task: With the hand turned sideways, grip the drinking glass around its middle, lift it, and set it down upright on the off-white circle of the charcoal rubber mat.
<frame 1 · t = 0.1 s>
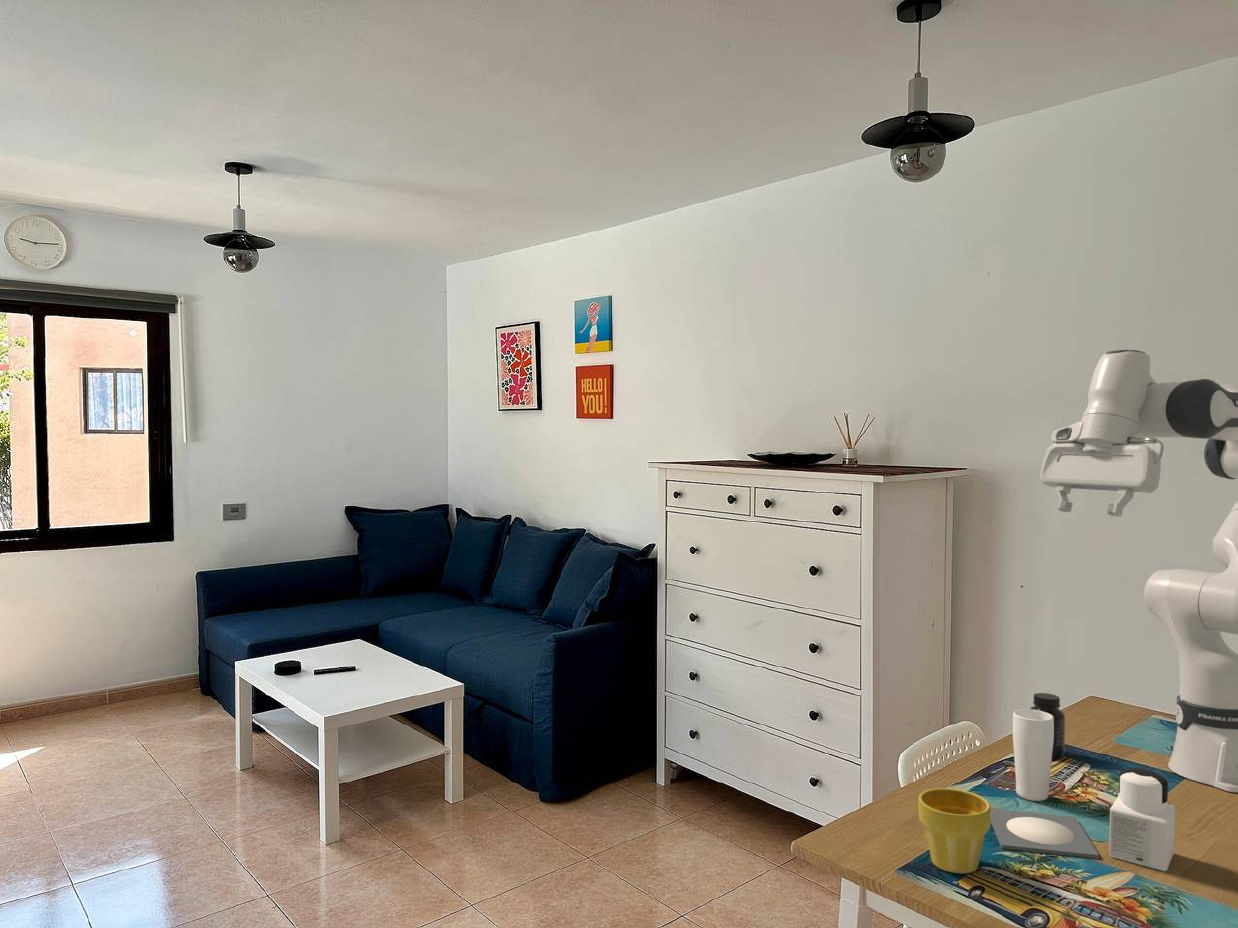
hand: (1088, 513, 151), 52 cm above the table, tool tilted 20°, fingers open, 8 cm apart
container: (1141, 856, 136), on the table
drinking glass: (1031, 797, 159), on the table
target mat: (1039, 833, 144), on the table
plant pot: (953, 864, 134), on the table
supplement bottle: (1045, 754, 180), on the table
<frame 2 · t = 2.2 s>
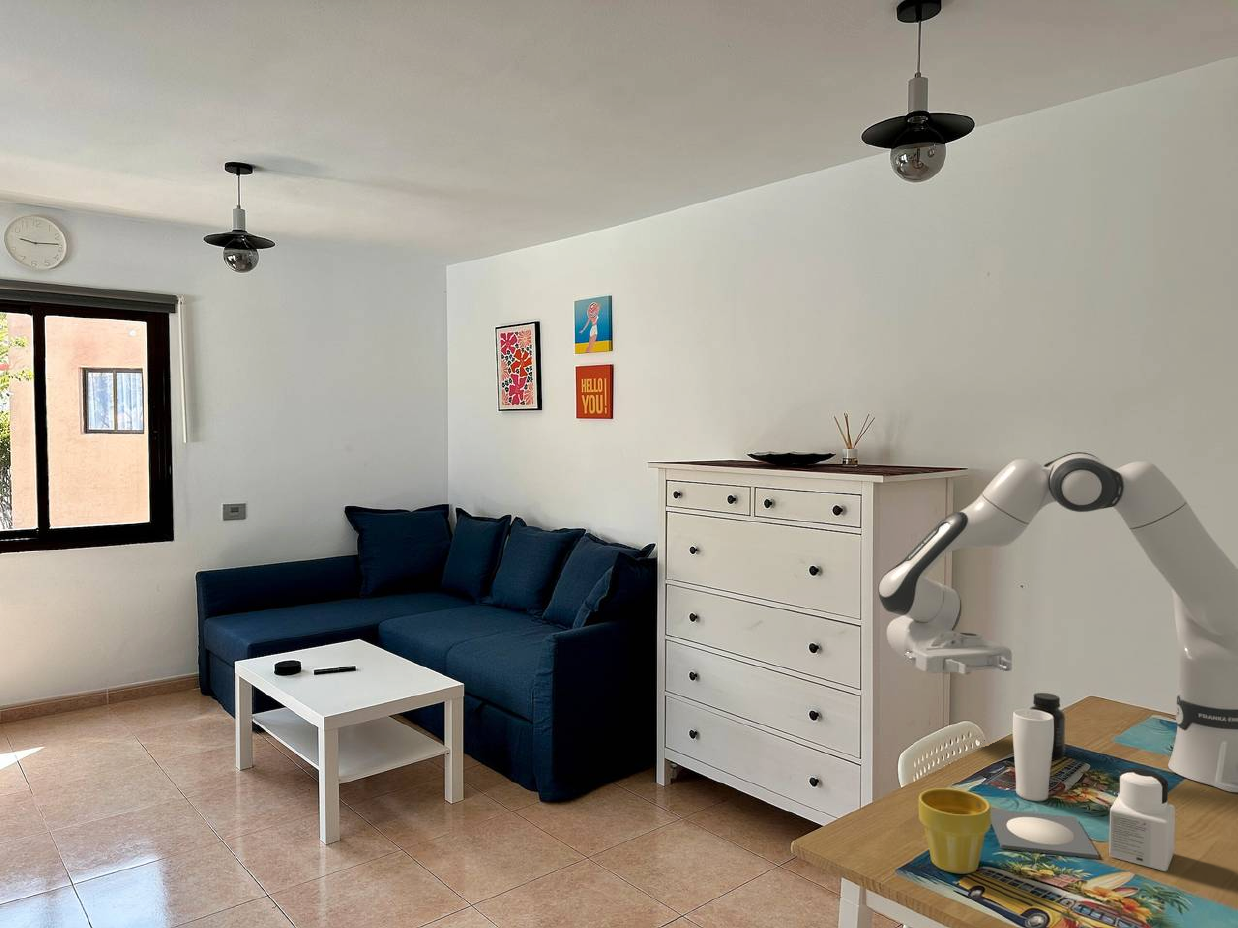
hand: (988, 668, 169), 20 cm above the table, tool horizontal, fingers open, 8 cm apart
nothing on the table moved.
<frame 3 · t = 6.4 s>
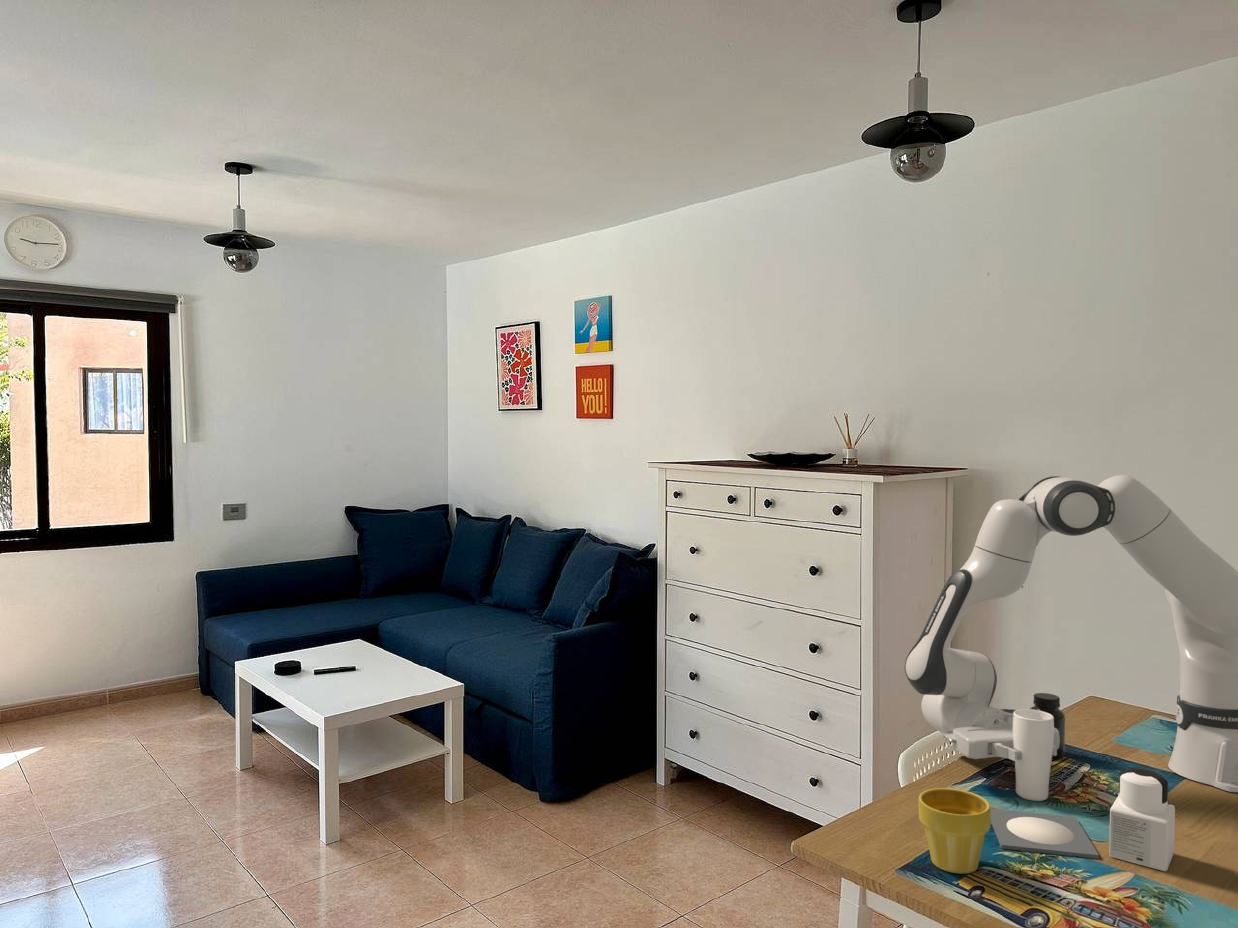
hand: (1036, 754, 158), 8 cm above the table, tool horizontal, fingers closed on drinking glass, 6 cm apart
drinking glass: (1031, 797, 159), on the table, touching gripper
everything else where it was.
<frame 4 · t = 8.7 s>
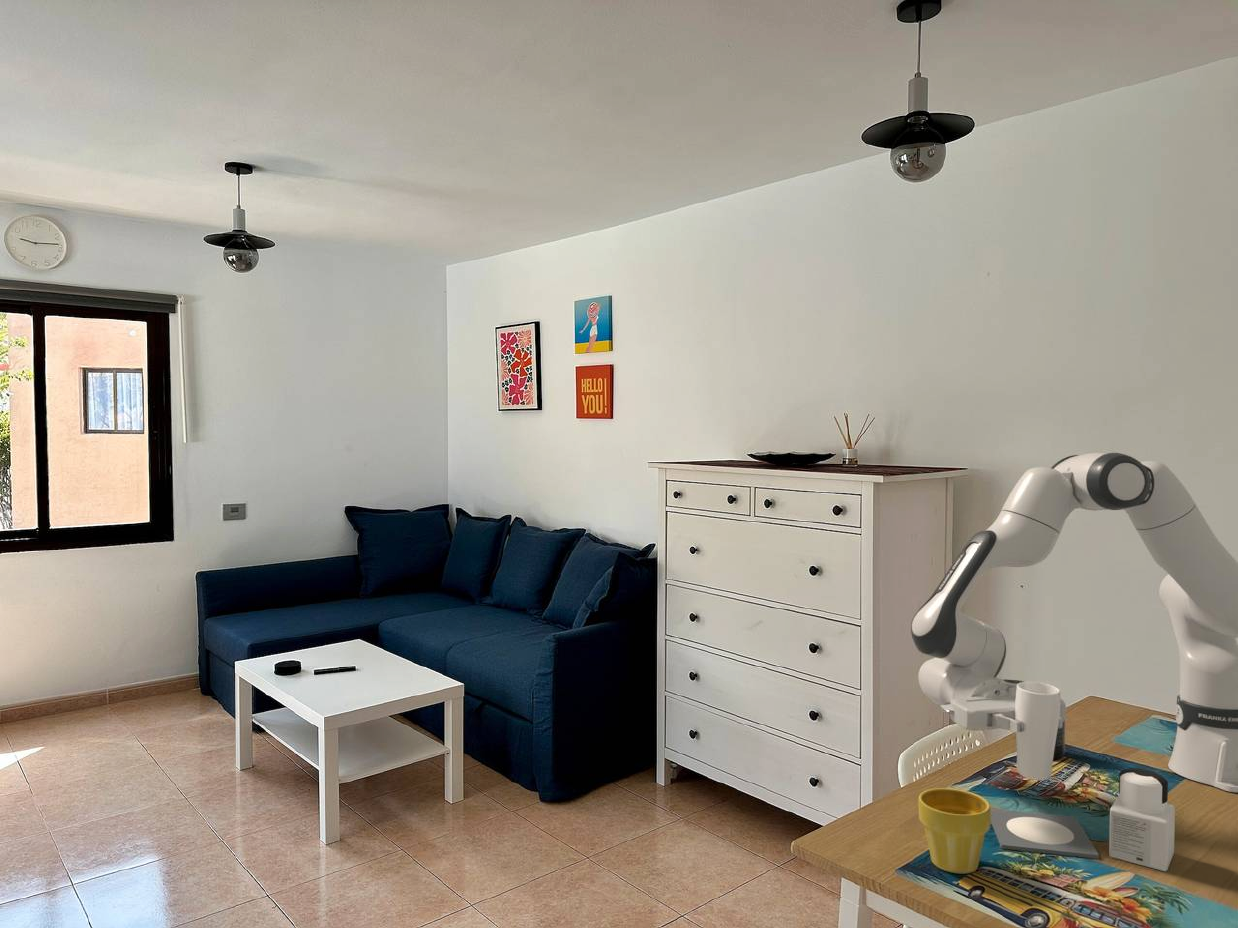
hand: (1040, 725, 146), 17 cm above the table, tool horizontal, fingers closed on drinking glass, 6 cm apart
drinking glass: (1033, 776, 147), point 8 cm above the table, touching gripper
everything else where it was.
when the fingers open (10 cm above the table, at t = 11.2 s): drinking glass moves 1 cm, resting on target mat.
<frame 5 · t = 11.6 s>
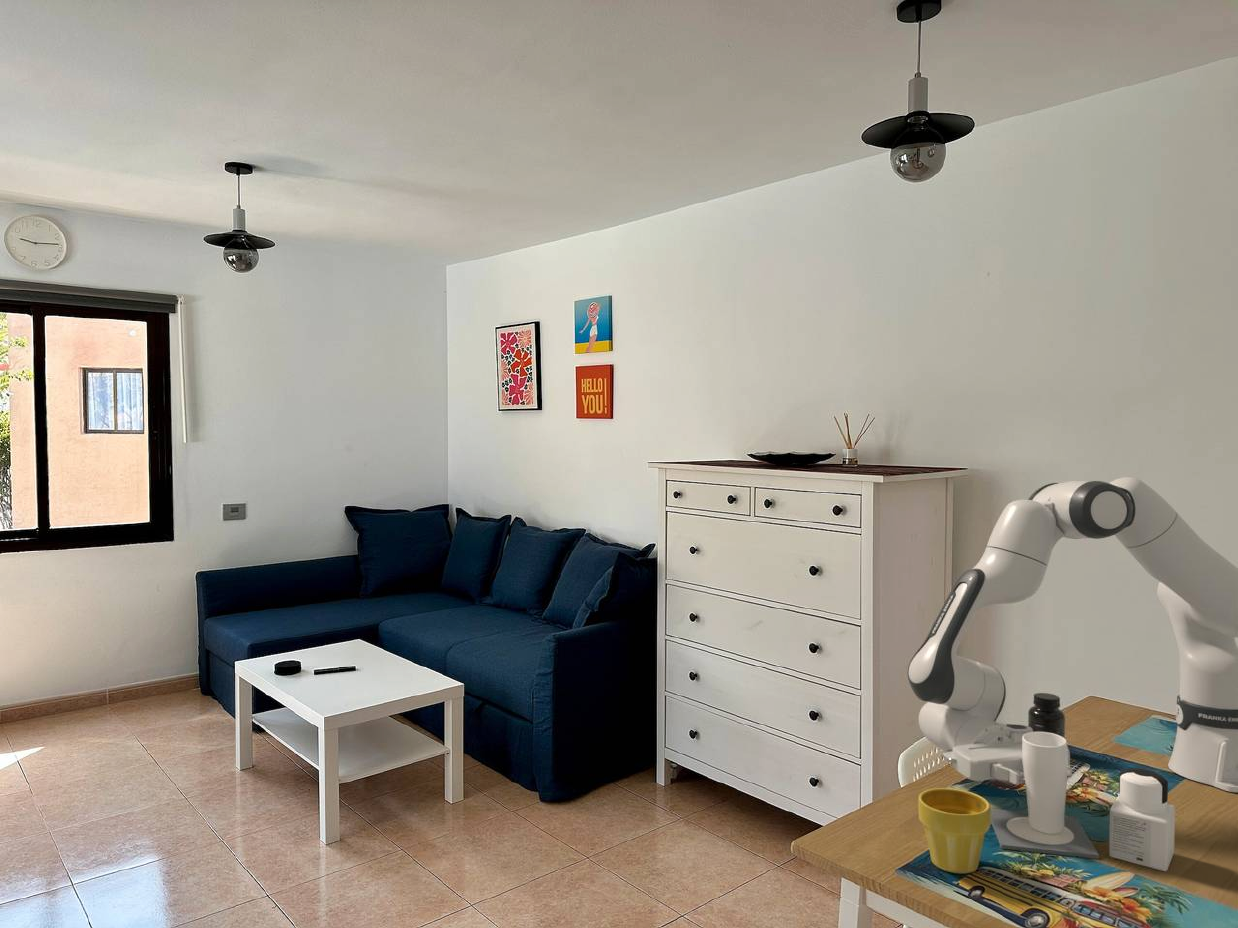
hand: (1044, 776, 142), 10 cm above the table, tool horizontal, fingers open, 8 cm apart
drinking glass: (1046, 828, 144), point 1 cm above the table, touching gripper, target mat
everything else where it was.
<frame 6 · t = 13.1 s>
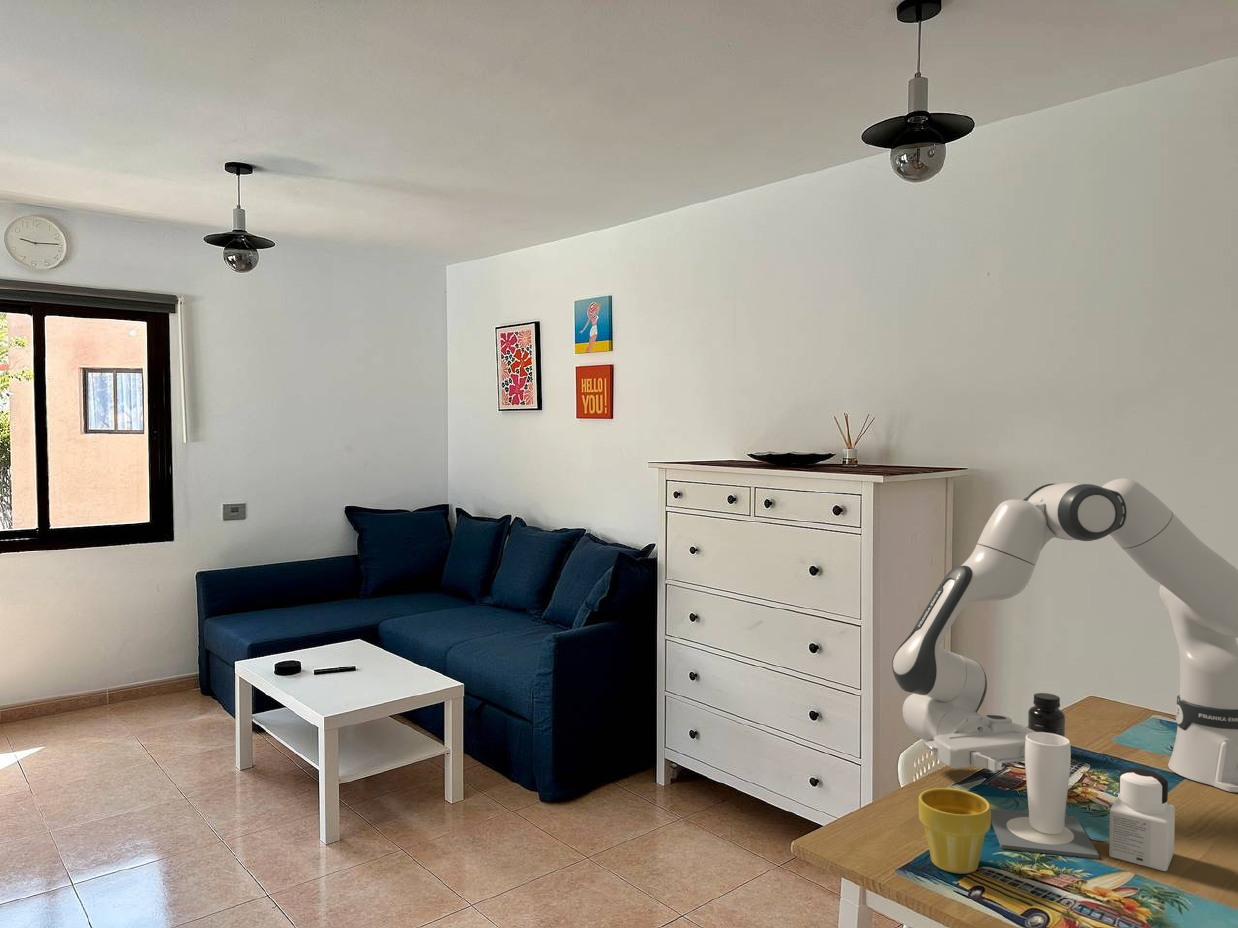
hand: (1021, 763, 147), 10 cm above the table, tool horizontal, fingers open, 8 cm apart
drinking glass: (1046, 829, 144), resting on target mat
everything else where it was.
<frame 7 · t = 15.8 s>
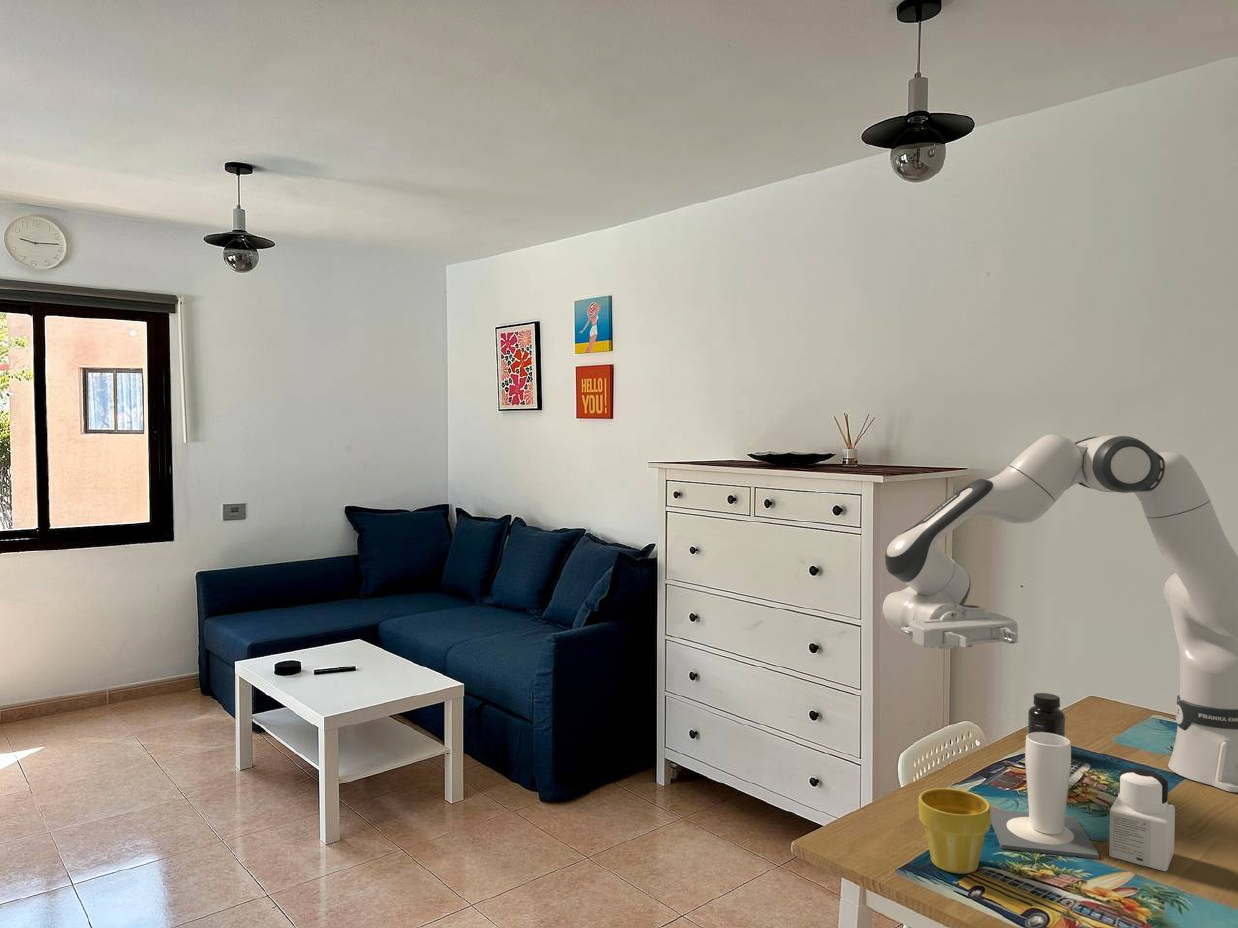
hand: (991, 640, 154), 29 cm above the table, tool horizontal, fingers open, 8 cm apart
nothing on the table moved.
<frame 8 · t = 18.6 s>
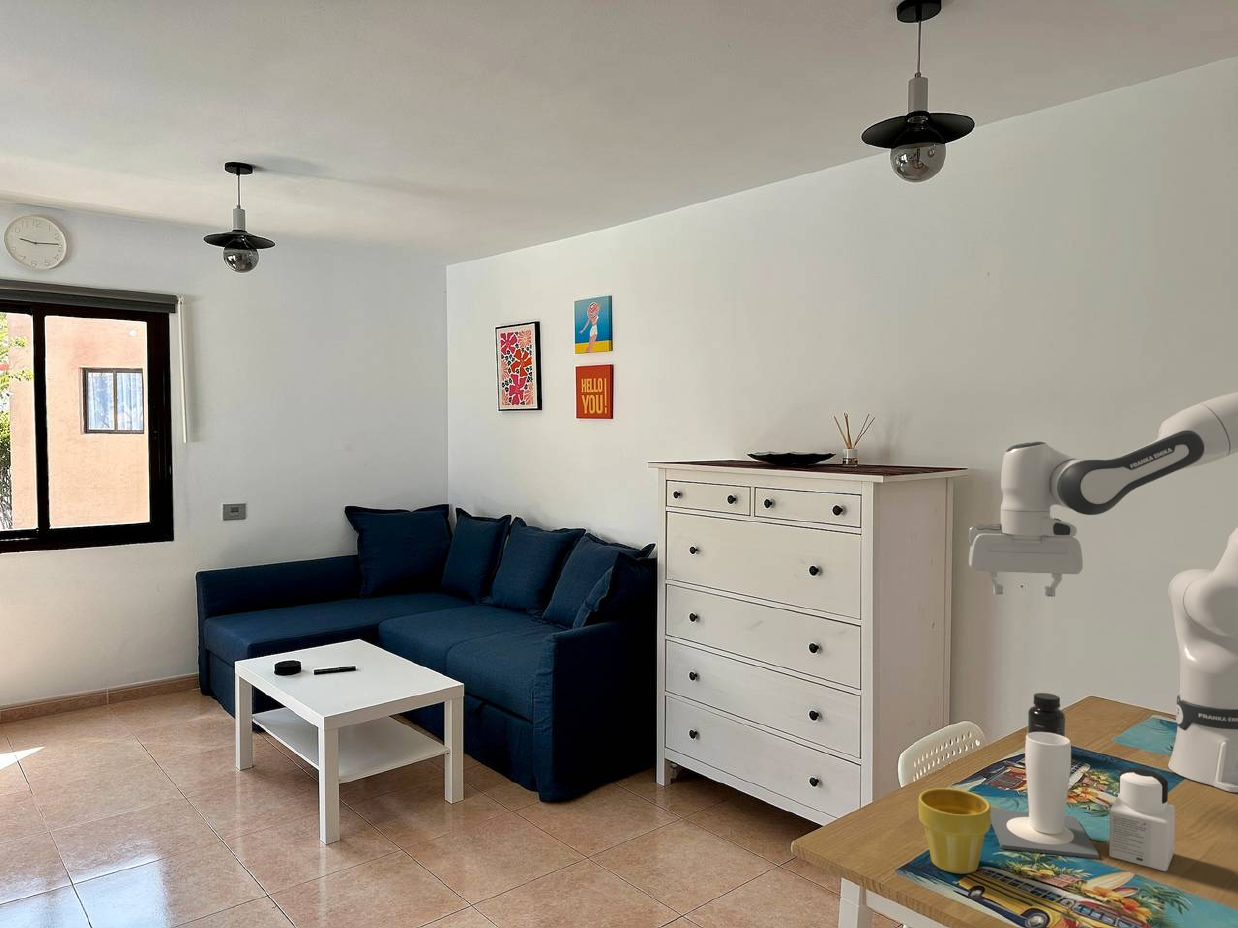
hand: (1023, 595, 172), 34 cm above the table, tool pointing down, fingers open, 8 cm apart
nothing on the table moved.
at the end: drinking glass inside the target area on the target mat (1.5 cm from its centre), point 0.5 cm above the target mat's base; drinking glass tilted 1°; the gripper is holding nothing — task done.
